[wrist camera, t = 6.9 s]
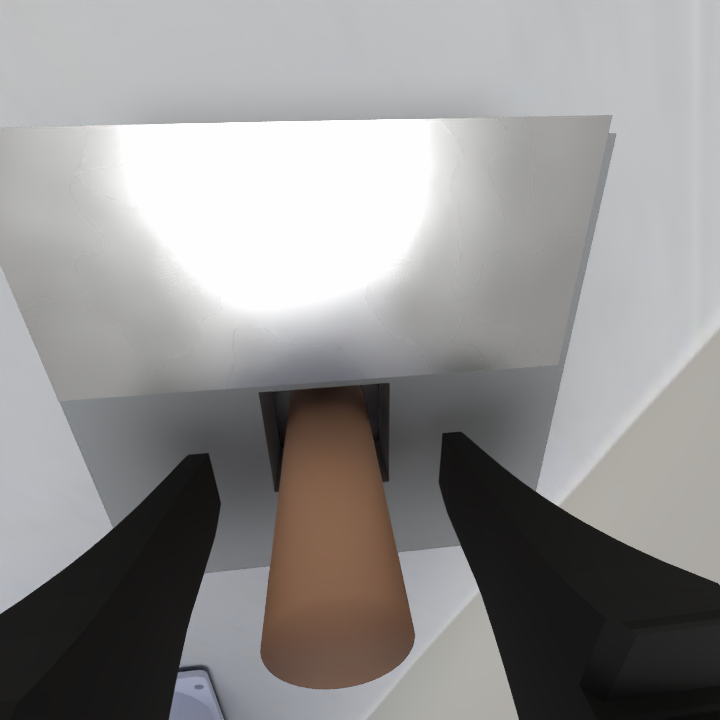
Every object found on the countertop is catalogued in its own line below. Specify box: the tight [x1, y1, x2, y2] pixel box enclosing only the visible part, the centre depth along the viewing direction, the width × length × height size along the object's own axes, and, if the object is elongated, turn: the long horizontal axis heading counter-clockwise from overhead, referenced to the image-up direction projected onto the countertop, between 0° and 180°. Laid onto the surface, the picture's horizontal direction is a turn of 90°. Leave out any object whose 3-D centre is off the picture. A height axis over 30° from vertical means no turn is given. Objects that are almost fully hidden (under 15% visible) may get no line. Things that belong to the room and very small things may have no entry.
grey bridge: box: [0, 115, 612, 401], centre depth 9 cm, size 4×10×4 cm, turn 92°
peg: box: [260, 385, 415, 689], centre depth 12 cm, size 3×3×9 cm
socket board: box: [59, 133, 616, 573], centre depth 14 cm, size 15×16×2 cm
